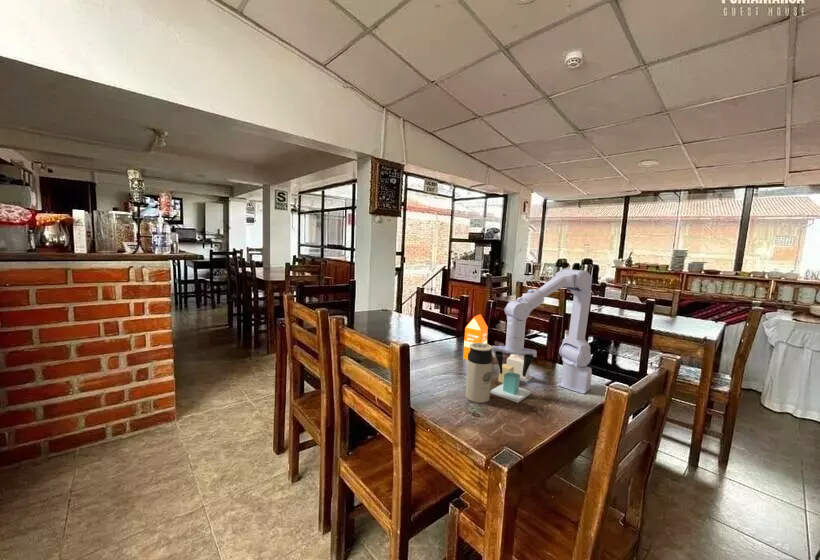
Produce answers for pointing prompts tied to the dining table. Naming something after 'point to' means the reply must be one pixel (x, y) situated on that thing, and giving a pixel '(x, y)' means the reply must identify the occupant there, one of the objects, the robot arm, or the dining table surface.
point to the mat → (516, 397)
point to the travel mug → (479, 372)
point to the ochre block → (505, 371)
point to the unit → (519, 368)
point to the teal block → (511, 382)
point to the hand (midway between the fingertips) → (512, 374)
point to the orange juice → (475, 333)
